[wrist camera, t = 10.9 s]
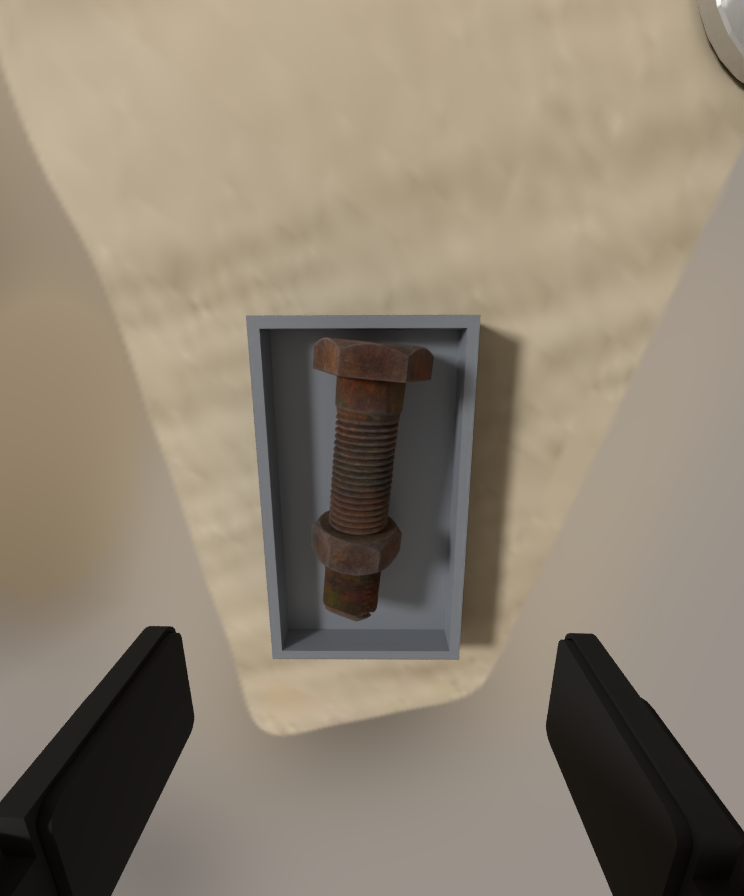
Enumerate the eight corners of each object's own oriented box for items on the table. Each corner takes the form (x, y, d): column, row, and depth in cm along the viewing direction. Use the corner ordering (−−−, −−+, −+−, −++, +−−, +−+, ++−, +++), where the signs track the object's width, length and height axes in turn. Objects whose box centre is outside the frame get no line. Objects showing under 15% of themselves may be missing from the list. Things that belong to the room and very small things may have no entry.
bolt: (342, 568, 26) (362, 339, 22) (409, 598, 24) (445, 348, 20) (282, 616, 21) (293, 333, 17) (359, 659, 19) (394, 345, 15)
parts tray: (468, 319, 21) (480, 315, 19) (451, 630, 26) (458, 659, 24) (260, 319, 21) (246, 315, 19) (282, 630, 26) (272, 658, 24)
